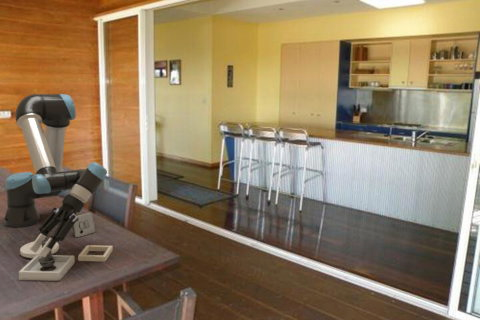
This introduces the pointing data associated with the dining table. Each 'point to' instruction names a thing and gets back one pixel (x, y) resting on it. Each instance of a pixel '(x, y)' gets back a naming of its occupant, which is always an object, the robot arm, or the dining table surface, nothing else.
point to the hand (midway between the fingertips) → (36, 253)
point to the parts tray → (34, 273)
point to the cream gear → (30, 254)
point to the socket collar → (85, 257)
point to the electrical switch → (83, 225)
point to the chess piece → (47, 260)
